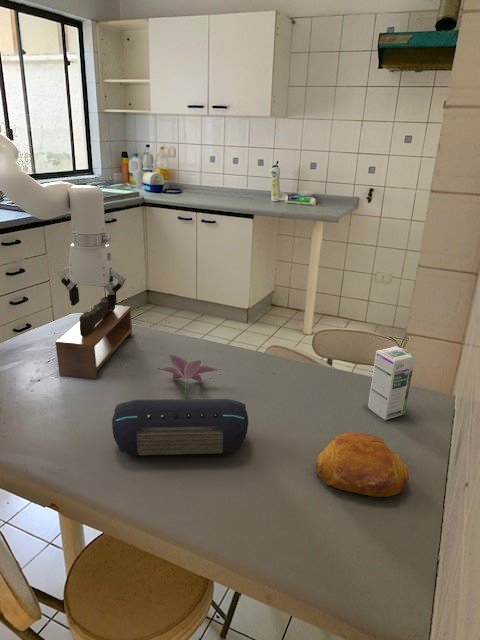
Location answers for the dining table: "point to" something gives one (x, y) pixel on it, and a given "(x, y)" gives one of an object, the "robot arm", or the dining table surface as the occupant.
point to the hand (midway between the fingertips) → (93, 305)
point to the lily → (187, 369)
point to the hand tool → (93, 316)
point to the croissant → (362, 465)
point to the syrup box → (391, 382)
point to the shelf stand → (93, 344)
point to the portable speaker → (179, 426)
